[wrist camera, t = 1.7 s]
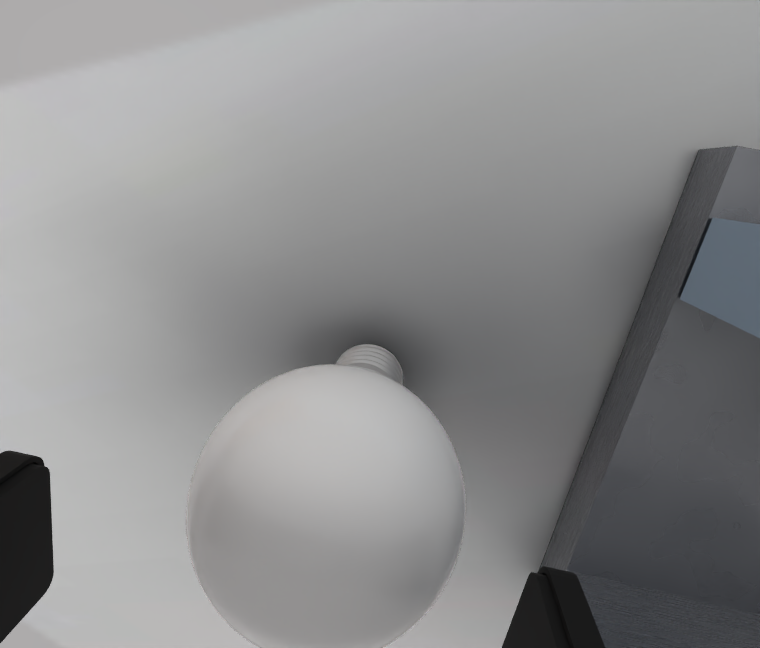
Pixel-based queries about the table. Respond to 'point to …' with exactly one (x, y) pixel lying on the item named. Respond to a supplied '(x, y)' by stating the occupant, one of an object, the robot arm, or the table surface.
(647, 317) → the vise base
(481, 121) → the table surface
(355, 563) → the lightbulb
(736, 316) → the vise jaw
